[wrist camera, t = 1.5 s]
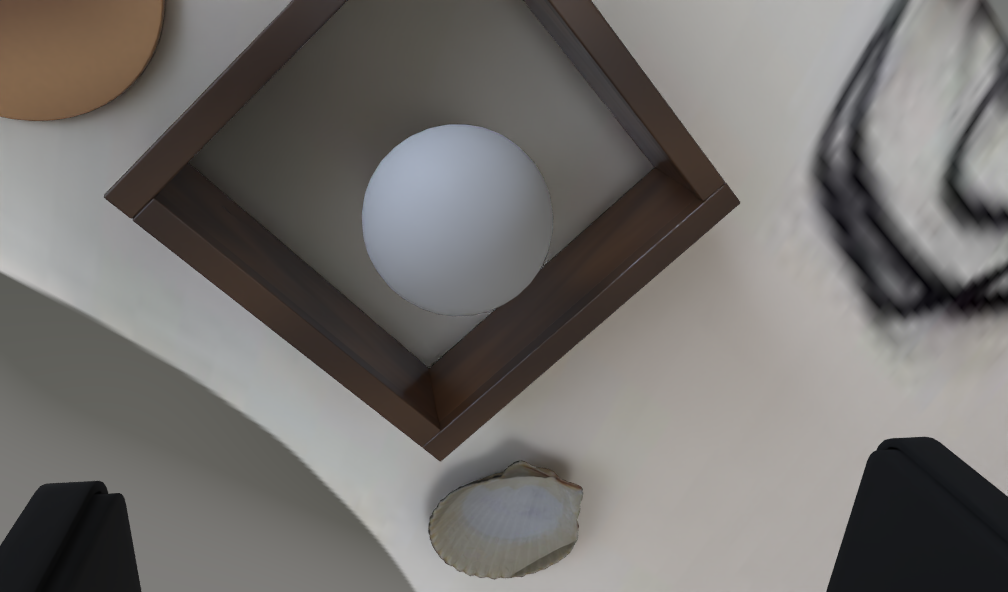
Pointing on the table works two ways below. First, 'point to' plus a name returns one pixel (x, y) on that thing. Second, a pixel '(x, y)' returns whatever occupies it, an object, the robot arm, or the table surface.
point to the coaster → (72, 53)
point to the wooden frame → (506, 331)
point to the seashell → (507, 523)
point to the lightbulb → (457, 219)
